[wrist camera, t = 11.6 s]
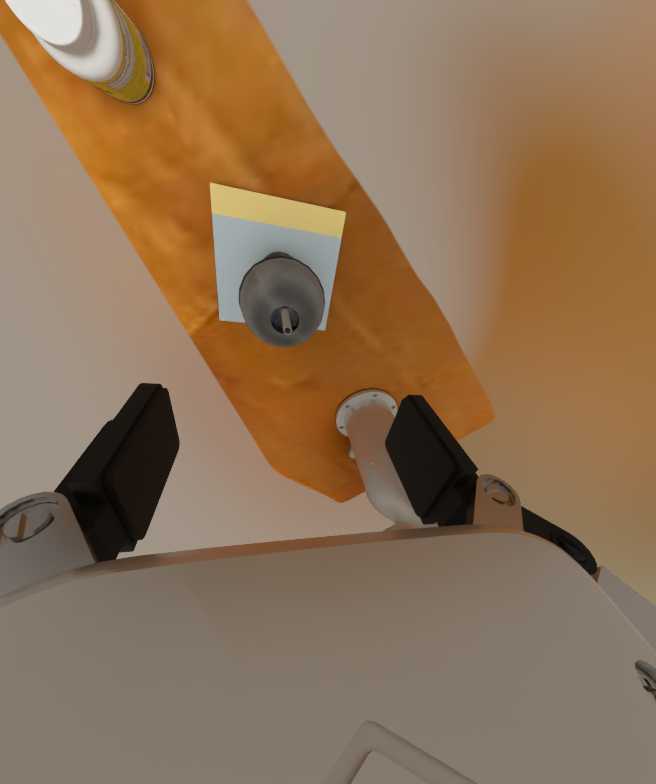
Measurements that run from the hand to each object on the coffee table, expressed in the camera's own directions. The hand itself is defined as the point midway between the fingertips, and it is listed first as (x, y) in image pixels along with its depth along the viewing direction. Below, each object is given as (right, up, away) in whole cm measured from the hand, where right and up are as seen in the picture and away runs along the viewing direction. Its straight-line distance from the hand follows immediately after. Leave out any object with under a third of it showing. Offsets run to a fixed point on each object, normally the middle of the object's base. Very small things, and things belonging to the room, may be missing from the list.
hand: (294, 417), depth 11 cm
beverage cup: (-4, +16, +20) cm, 26 cm away
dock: (-5, +18, +22) cm, 29 cm away
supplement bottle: (-16, +29, +11) cm, 35 cm away
